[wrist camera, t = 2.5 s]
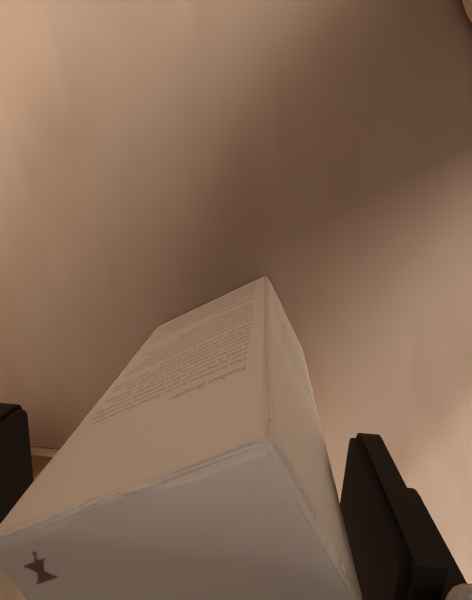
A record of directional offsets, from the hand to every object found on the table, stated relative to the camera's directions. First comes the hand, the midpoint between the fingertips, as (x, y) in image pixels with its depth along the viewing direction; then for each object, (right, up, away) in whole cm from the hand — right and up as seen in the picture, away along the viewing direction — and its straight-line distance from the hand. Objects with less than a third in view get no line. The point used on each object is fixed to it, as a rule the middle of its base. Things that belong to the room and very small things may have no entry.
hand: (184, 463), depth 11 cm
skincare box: (+1, +3, +8) cm, 8 cm away
